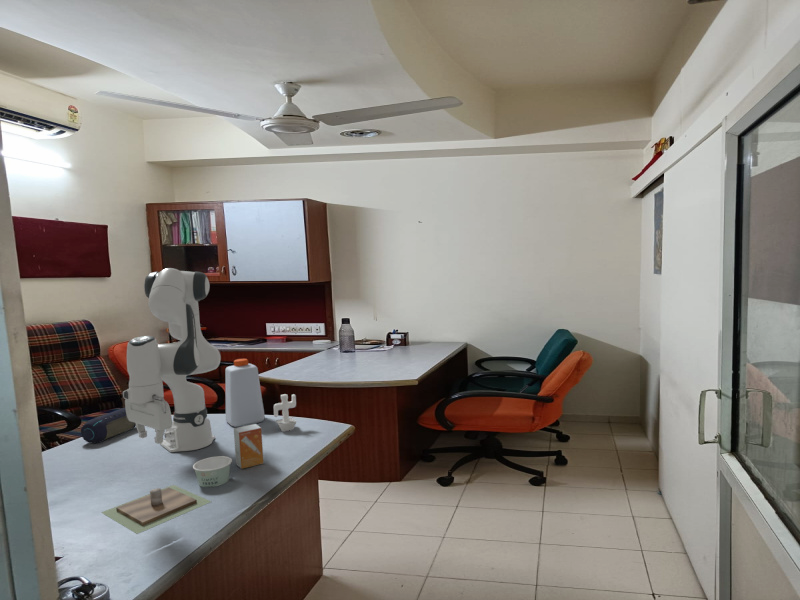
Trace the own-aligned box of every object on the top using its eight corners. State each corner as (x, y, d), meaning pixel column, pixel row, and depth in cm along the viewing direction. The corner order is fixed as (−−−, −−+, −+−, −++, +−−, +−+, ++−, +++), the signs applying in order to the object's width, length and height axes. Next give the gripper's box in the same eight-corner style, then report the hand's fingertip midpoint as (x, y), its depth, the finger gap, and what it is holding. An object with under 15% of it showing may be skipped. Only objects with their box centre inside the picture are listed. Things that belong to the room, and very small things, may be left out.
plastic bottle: (223, 421, 241) (218, 360, 239) (256, 414, 249) (252, 355, 247) (233, 429, 228) (228, 364, 226) (267, 421, 237) (263, 359, 234)
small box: (241, 469, 182) (238, 432, 181) (235, 464, 188) (233, 428, 187) (264, 463, 187) (261, 427, 186) (258, 458, 192) (255, 423, 191)
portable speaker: (97, 446, 215) (95, 422, 214) (78, 445, 218) (76, 421, 217) (144, 426, 239) (142, 405, 238) (127, 425, 242) (125, 404, 241)
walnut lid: (116, 510, 155) (114, 494, 155) (169, 490, 167) (167, 475, 167) (142, 525, 145) (141, 508, 145) (196, 502, 157) (195, 486, 157)
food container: (192, 493, 166) (190, 472, 165) (196, 478, 177) (194, 459, 177) (232, 486, 169) (231, 466, 168) (234, 472, 180) (232, 453, 180)
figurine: (273, 429, 225) (271, 394, 224) (295, 425, 229) (293, 391, 228) (277, 433, 219) (274, 398, 218) (299, 429, 223) (297, 394, 221)
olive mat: (101, 513, 155) (101, 512, 155) (173, 486, 172) (173, 484, 172) (137, 535, 141) (137, 533, 141) (211, 502, 158) (211, 501, 158)
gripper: (175, 394, 149) (179, 442, 151) (141, 387, 162) (145, 431, 163) (153, 400, 145) (158, 449, 146) (119, 391, 157) (124, 437, 158)
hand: (151, 440), depth 155 cm, fingers open, 8 cm apart
